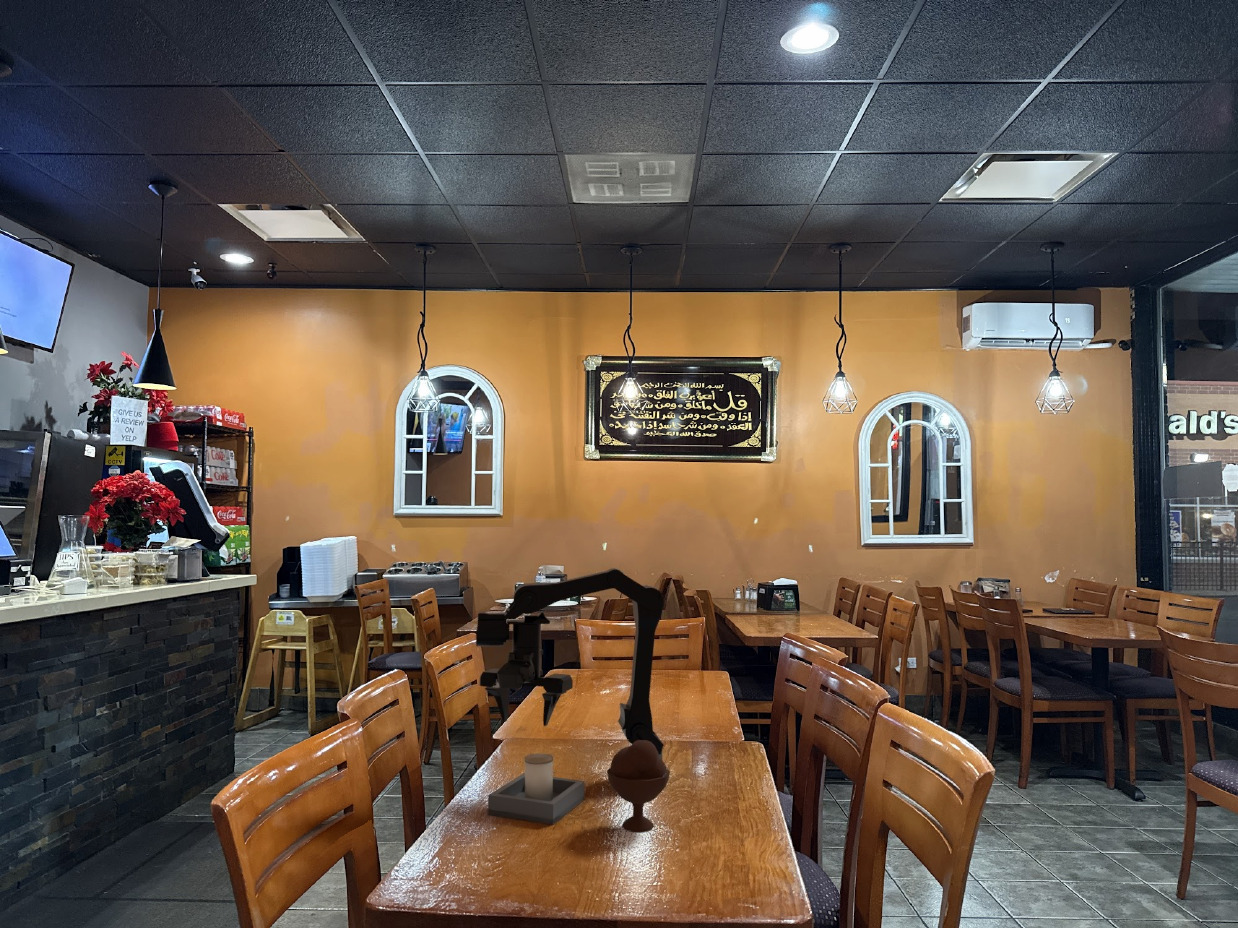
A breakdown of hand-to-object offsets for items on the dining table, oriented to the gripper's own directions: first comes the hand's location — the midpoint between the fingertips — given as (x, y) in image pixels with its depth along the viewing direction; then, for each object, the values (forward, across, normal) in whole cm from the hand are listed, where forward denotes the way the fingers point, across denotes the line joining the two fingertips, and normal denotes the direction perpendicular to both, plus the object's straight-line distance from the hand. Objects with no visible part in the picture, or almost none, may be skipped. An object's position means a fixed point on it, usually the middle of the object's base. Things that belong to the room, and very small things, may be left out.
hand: (525, 723), depth 165 cm
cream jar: (+11, +9, -11) cm, 18 cm away
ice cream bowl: (+12, +29, -13) cm, 34 cm away
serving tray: (+12, +8, -11) cm, 18 cm away
